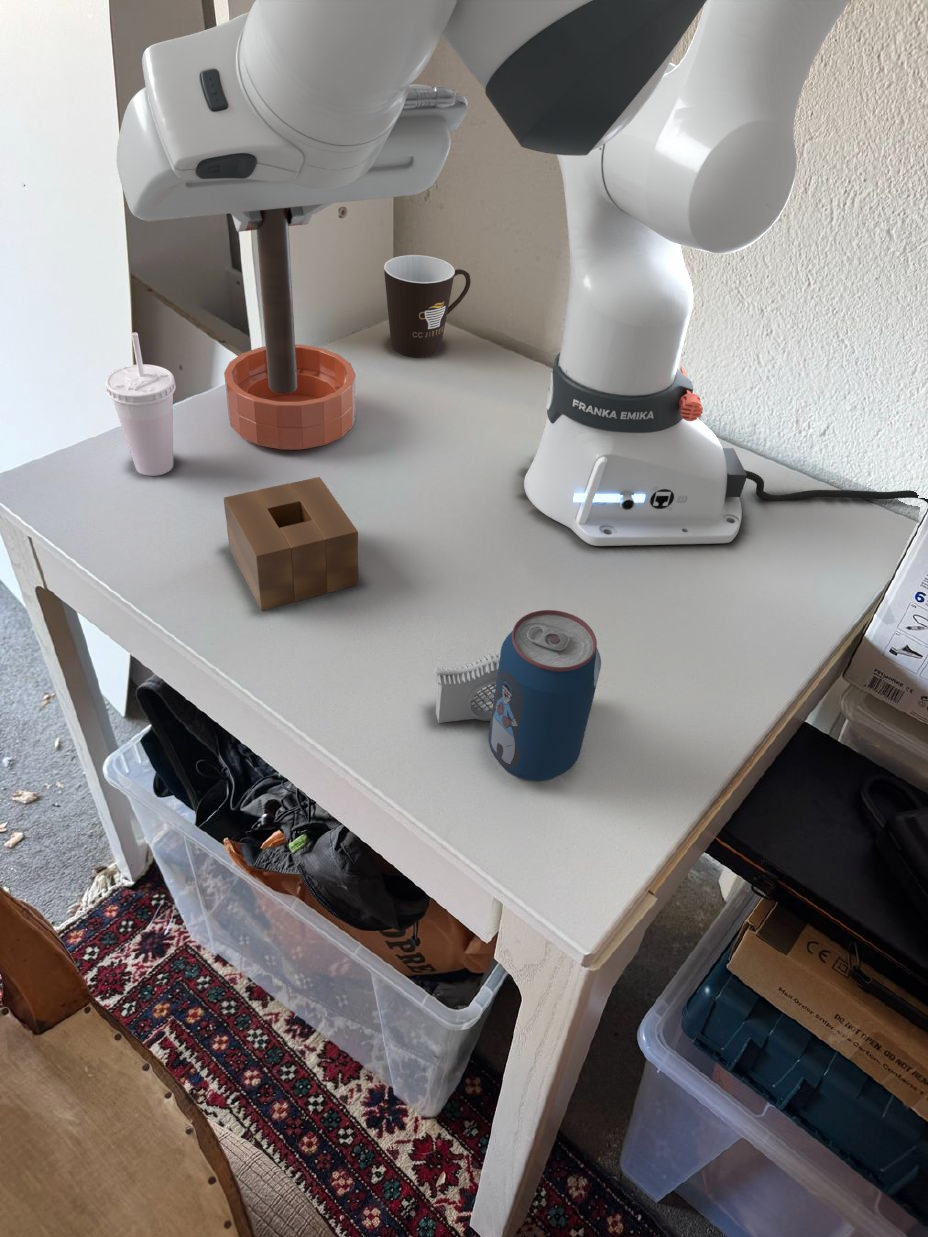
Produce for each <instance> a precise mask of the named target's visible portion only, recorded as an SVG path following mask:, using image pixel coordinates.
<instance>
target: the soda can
mask: <svg viewBox="0 0 928 1237" xmlns="http://www.w3.org/2000/svg"><path fill="white" fill-rule="evenodd" d="M597 641H598V640H597V637H596V635H595V632H594V631H593V629H592V628H591V627H590V625H589V624H588V623H587V622H585V621H584V620H583V619H581V618H580V617H578V616H576V615H574V614H571V613H568V612H566V611H561V610H556V609H555V610H553V609H542V610H535V611H533V612H530V613H527V614H525V615H523V616H522V617H521V618H519V619H518V620H517V622H516V623H515V624H514V626H513V628H512V631H511V632H509V633H508V634H507V635H506V636H505V639H504V640H503V642H502V645H501V647H500V653H499V654H500V661H499V667H498V674H497V681H496V685H495V686H496V688H495V689H494V691H495V693H494V694H495V695H493V696H494V698H493V701H494V702H493V709H492V716H491V721H489V728H488V729H489V731H488V745H489V749H490V751H491V754H492V756H493V757H494V759H495V760H496V761H497V762H498V763H499V766H501V767H502V768H503V769H504V770H505V771H506V772H507V773H508V774H510V775H511V776H513V777H515V778H517V779H519V780H522V781H526V782H533V783H542V782H546V781H551V780H553V779H555V778H558V777H559V776H562V775H563V774H565V773H566V772H568V771H569V770H570V769H571V768H573V767H574V765H575V764H576V763H577V761H578V759H579V758H580V754H581V751H582V747H583V742H584V738H585V734H586V731H587V726H588V722H589V718H590V713H591V710H592V706H593V703H594V702H593V701H594V698H595V693H596V689H597V685H598V682H599V677H600V673H601V669H602V657H601V655H600V652H599V649H598V642H597Z"/></svg>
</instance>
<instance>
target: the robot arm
mask: <svg viewBox="0 0 928 1237" xmlns="http://www.w3.org/2000/svg"><path fill="white" fill-rule="evenodd" d="M850 2H851V0H255V1H254V2H253V3H252V6H251V7H250V10H249V11H246V12H244V13H242V14H240V15H238V16H236V17H233V18H231V19H229V20H228V21H226V22H224V23H220V24H218V25H215V26H213V27H210V28H208V29H205V30H200V31H198V32H194V33H191V34H187V35H184V36H179V37H176V38H172V39H168V40H163V41H160V42H157V43H153V44H151V45H150V46H148V47H147V48H146V49H144V51H143V53H142V59H141V65H142V73H143V79H144V86H145V87H143V88H141V89H140V90H139V91H137V92H136V93H135V94H134V95H133V96H132V97H131V99H130V101H129V102H128V104H127V107H126V108H125V111H124V115H123V118H122V121H121V126H120V130H119V136H118V140H117V145H116V146H117V147H116V168H117V173H118V176H119V180H120V184H121V188H122V192H123V194H124V197H125V200H126V203H127V206H128V209H129V211H130V213H131V214H132V216H134V217H135V218H136V217H137V218H138V219H139V220H142V221H144V222H157V221H158V222H159V221H166V220H179V219H186V218H187V219H189V218H196V217H206V216H215V215H216V216H218V215H226V214H230V215H231V216H232V220H233V224H234V227H235V230H236V231H237V232H238V233H239V232H251V231H257V230H258V229H259V228H260V227H259V225H260V224H261V222H262V217H261V213H260V210H268V209H278V208H288V225H289V227H293V226H306V225H309V223H310V221H311V219H312V217H313V215H316V214H318V213H319V212H321V211H323V210H324V209H326V208H328V207H330V206H332V205H333V204H337V203H346V202H347V203H348V202H358V201H368V200H377V199H388V198H398V197H408V196H416V195H419V194H421V193H423V192H425V191H427V190H429V189H430V188H431V187H433V186H434V184H435V183H436V181H437V180H438V178H439V176H440V175H441V172H442V170H443V168H444V166H445V163H446V161H447V158H448V156H449V154H450V150H451V146H452V139H451V138H452V137H451V135H450V134H452V133H453V132H454V131H456V130H457V128H459V126H460V125H461V123H462V122H463V120H464V119H465V117H466V116H467V114H468V112H469V102H468V99H467V98H466V96H465V95H463V94H462V93H458V92H456V91H455V89H454V88H453V87H452V86H448V85H447V86H446V85H435V86H430V85H427V84H417V83H416V84H415V83H413V82H415V81H416V80H417V79H418V77H419V76H420V75H421V74H422V72H423V71H424V70H425V68H426V67H427V65H428V64H429V62H430V60H431V58H432V56H433V54H434V52H435V50H436V48H437V46H438V45H439V42H440V40H441V38H442V39H443V40H444V42H445V43H446V44H447V45H448V47H449V48H450V49H451V51H452V52H453V53H454V54H455V55H456V57H458V59H459V60H460V61H461V62H462V63H463V65H464V66H465V67H466V68H467V70H468V72H470V73H471V75H472V76H473V77H474V78H475V80H477V82H478V83H479V84H480V85H481V86H482V88H483V89H484V90H485V91H484V94H485V96H486V98H487V99H488V101H489V102H490V103H491V105H492V106H493V107H494V110H496V112H497V114H498V115H499V116H500V117H501V119H502V121H503V122H504V124H505V125H506V127H507V128H508V129H509V131H510V132H511V134H512V136H514V138H515V140H516V141H517V142H518V144H519V145H520V147H522V148H524V149H527V150H531V151H535V152H540V153H544V154H550V155H556V157H557V161H558V165H559V168H560V173H561V179H562V184H563V192H564V202H565V212H566V224H567V237H568V252H569V280H568V281H569V284H568V294H567V300H566V309H565V317H564V324H563V330H562V337H561V344H560V351H559V352H558V353H557V355H556V356H555V358H554V361H553V366H552V370H551V372H550V377H549V383H548V388H547V389H548V390H547V396H546V397H547V399H546V406H545V407H546V408H545V409H546V415H547V418H546V422H545V426H544V429H543V432H542V436H541V439H540V442H539V444H538V448H537V450H536V453H535V455H534V458H533V460H532V462H531V465H530V466H529V468H528V470H527V472H526V474H525V476H524V479H523V488H524V489H523V490H524V492H525V495H526V496H527V499H528V500H529V501H530V503H531V504H532V505H533V506H534V507H535V508H536V509H537V510H539V512H541V513H542V514H543V515H545V516H547V517H548V518H550V519H552V520H554V521H555V522H557V523H560V524H561V525H564V526H565V527H567V528H569V529H570V530H571V531H573V533H574V534H576V535H577V536H578V537H579V538H580V539H581V540H582V541H583V542H585V543H586V544H588V545H591V546H595V547H616V546H623V547H624V546H660V545H661V546H662V545H663V546H666V545H667V546H668V545H708V544H709V545H711V544H715V545H716V544H729V543H731V542H732V541H733V540H734V539H735V538H736V537H737V535H738V533H739V531H740V528H741V522H742V514H743V513H742V512H743V511H742V503H741V499H740V498H741V496H742V493H743V490H744V486H745V484H746V481H747V479H748V480H751V481H752V482H754V483H755V484H756V486H755V495H756V496H757V497H759V498H760V499H761V500H764V501H767V502H791V501H800V500H806V499H812V498H834V499H835V498H837V499H839V498H840V499H867V500H868V499H869V500H898V499H917V500H922V501H924V502H925V503H926V504H928V499H925V498H918V496H919V495H917V493H916V492H914V491H915V490H914V491H911V490H893V491H876V490H875V491H874V490H873V491H872V490H854V489H853V490H852V489H851V490H849V489H809V490H803V491H797V492H796V491H795V492H792V493H787V494H773V493H772V494H771V493H768V492H766V491H764V490H765V480H764V479H763V477H761V476H760V475H759V474H758V473H755V472H753V471H750V470H746V469H745V468H744V466H743V464H742V462H741V460H740V459H739V458H740V457H738V454H737V453H736V450H735V449H734V448H733V447H723V446H722V444H721V442H720V440H719V438H718V437H717V435H716V434H715V433H714V432H713V430H711V429H710V427H708V426H707V425H706V424H705V423H703V421H702V420H700V418H701V417H702V414H704V413H703V412H704V411H703V410H704V409H703V405H702V402H701V398H700V396H699V395H697V394H696V393H694V384H693V381H692V380H691V379H690V378H689V377H688V375H687V371H686V370H685V368H684V366H683V365H680V369H678V366H679V363H680V360H681V359H680V358H681V356H682V355H681V354H682V352H683V347H684V342H685V339H686V336H687V331H688V326H689V323H690V319H691V314H692V311H693V307H694V291H693V290H694V289H693V285H692V281H691V277H690V275H689V272H688V270H687V268H686V265H685V264H686V263H685V260H684V258H683V252H682V247H683V246H684V247H687V248H690V249H693V250H697V251H702V252H707V253H711V254H715V255H728V254H729V255H730V254H733V253H737V252H739V251H742V250H744V249H746V248H748V247H749V246H751V245H753V244H754V243H756V241H758V240H759V239H760V238H761V237H763V236H764V235H765V234H766V233H767V232H768V231H769V230H770V229H771V228H772V227H773V226H774V224H776V222H777V220H778V219H779V218H780V216H781V214H782V213H783V211H784V210H785V207H786V205H787V204H788V202H789V200H790V197H791V194H792V191H793V188H794V184H795V181H796V175H797V162H798V161H797V160H798V159H797V151H796V145H795V137H794V127H795V126H794V125H795V118H796V112H797V108H798V104H799V100H800V97H801V95H802V91H803V88H804V85H805V82H806V80H807V78H808V74H809V72H810V70H811V67H812V65H813V63H814V60H815V58H816V56H817V55H818V53H819V51H820V49H821V47H822V46H823V43H824V42H825V40H826V38H827V36H828V35H829V33H830V31H831V30H833V27H834V25H835V24H836V23H837V21H839V20H838V19H839V18H840V17H841V15H842V14H843V13H844V11H845V9H846V7H847V6H848V5H849V3H850ZM701 9H702V12H701V15H700V18H699V21H698V24H697V27H696V30H695V32H694V35H693V38H692V40H691V42H690V44H689V46H688V48H687V50H686V53H685V54H684V56H683V58H682V59H681V60H680V62H679V63H678V64H677V65H676V64H674V63H672V62H671V61H672V59H673V57H674V54H675V53H676V51H677V49H678V47H679V45H680V42H681V40H682V39H683V36H684V35H685V33H686V32H687V30H688V29H689V27H690V26H691V25H692V23H693V21H694V20H695V18H696V17H697V15H699V13H700V11H701ZM412 83H413V84H412Z"/></svg>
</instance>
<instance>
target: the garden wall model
mask: <svg viewBox="0 0 928 1237" xmlns="http://www.w3.org/2000/svg"><path fill="white" fill-rule="evenodd" d="M500 654H501V653H498V655H497V654H496V653H493V654H492V655H491V654H490V653H488V654H487V656H483V658H479V657H477V661H476V660H474V661H473V663H471V662H470V663H469V665H467V664H464V666H462V665H459V668H457V667H454V668H453V667H449V668H448V667H445V668H444V667H440V669H439V668H438V667H436V668H435V669H434V675H435V678H436V683H437V691H436V703H435V704H436V705H435V715H436V718H437V723H438V724H439V723H449V722H458V721H465V720H466V721H467V720H480V721H484V722H485V721H487V722H491V716H492V709H493V702H494V695H495V688H496V681H497V674H498V667H499V661H500ZM478 699H479V700H478Z"/></svg>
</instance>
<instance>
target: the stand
mask: <svg viewBox="0 0 928 1237" xmlns="http://www.w3.org/2000/svg"><path fill="white" fill-rule="evenodd" d="M223 505H224V514H225V523H226V531H227V540H228V548H229V553H230V554H231V556H232V558H233V560H234V562H235V563H236V565H237V567H238V569H239V571H240V573H241V575H242V577H243V579H244V581H245V582H246V584H247V586H248V588H249V590H250V591H251V594H252V596H253V597H254V599H255V601H256V603H257V605H258V607H259V609H260V611H265V610H269V609H272V608H276V607H280V606H281V607H282V606H285V605H288V604H292V603H295V602H300V601H303V600H308V599H310V598H314V597H318V596H323V595H326V594H330V593H332V592H337V591H340V590H344V589H347V588H351V587H356V586H358V585H359V531H358V529H357V528H356V527H355V525H354V524H353V521H352V520H351V519H350V518H349V516H348V515H347V514H346V511H344V510H343V507H341V505H340V504H339V502H338V501H337V499H336V498H335V496H334V495H333V493H332V492H331V491H330V489H329V488H328V487H327V485H326V483H325V482H324V481H323V479H322V478H321V476H317V477H311V478H308V479H304V480H303V479H302V480H299V481H293V482H289V483H284V484H280V485H274V486H269V487H265V488H260V489H256V490H252V491H247V492H243V493H239V494H233V495H229V496H224V497H223Z"/></svg>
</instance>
